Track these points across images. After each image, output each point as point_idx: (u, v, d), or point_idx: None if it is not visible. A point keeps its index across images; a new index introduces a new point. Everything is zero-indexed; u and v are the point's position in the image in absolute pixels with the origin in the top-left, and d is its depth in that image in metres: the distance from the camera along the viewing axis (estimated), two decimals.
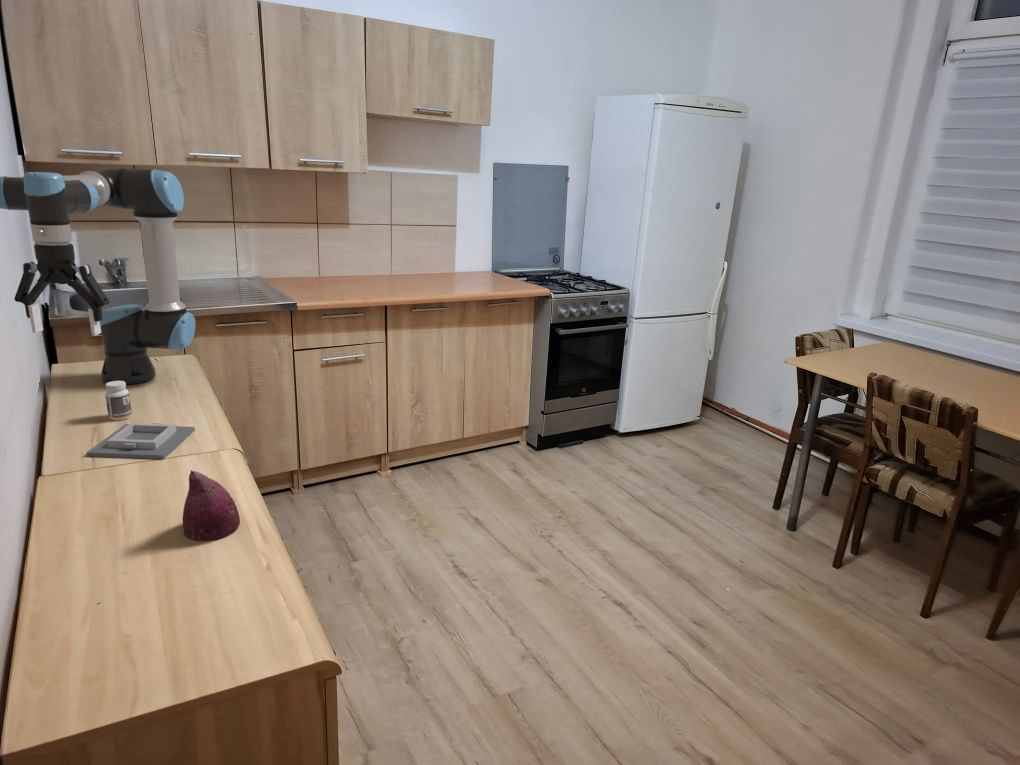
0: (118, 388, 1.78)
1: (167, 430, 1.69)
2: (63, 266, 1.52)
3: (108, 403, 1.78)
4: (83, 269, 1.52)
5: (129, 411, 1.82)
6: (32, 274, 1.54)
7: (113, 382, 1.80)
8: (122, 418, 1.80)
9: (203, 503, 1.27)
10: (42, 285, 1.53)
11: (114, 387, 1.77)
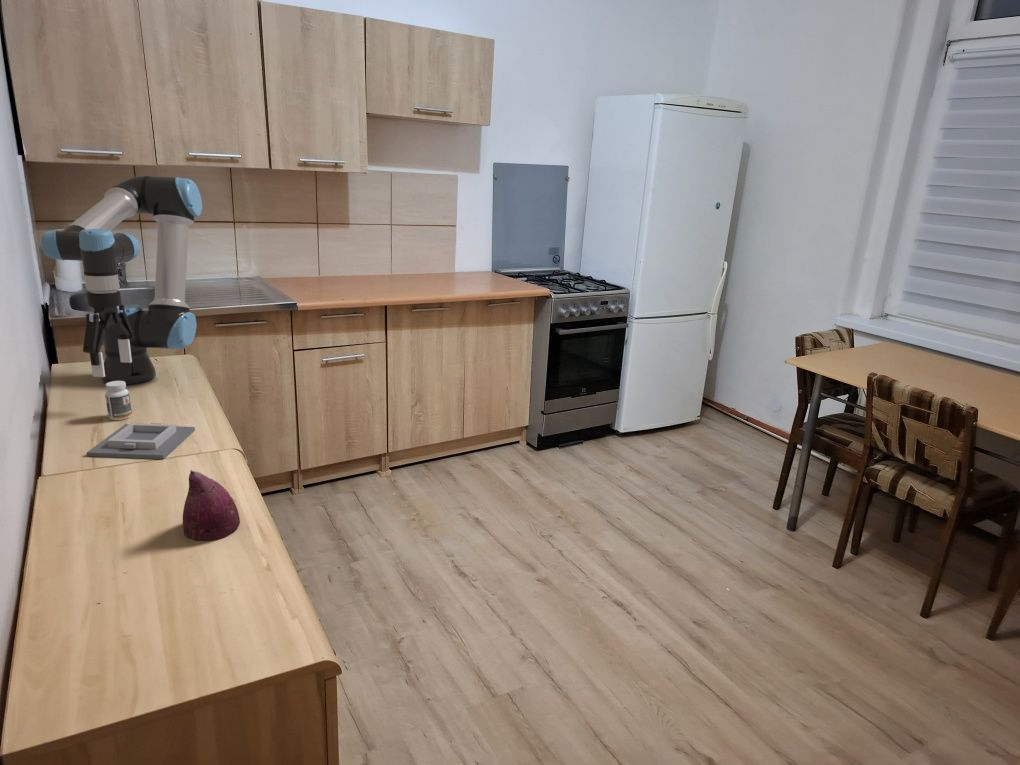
0: (118, 388, 1.78)
1: (167, 430, 1.69)
2: None
3: (108, 403, 1.78)
4: None
5: (129, 411, 1.82)
6: (119, 314, 1.79)
7: (113, 382, 1.80)
8: (122, 418, 1.80)
9: (202, 503, 1.27)
10: (111, 324, 1.77)
11: (114, 387, 1.77)
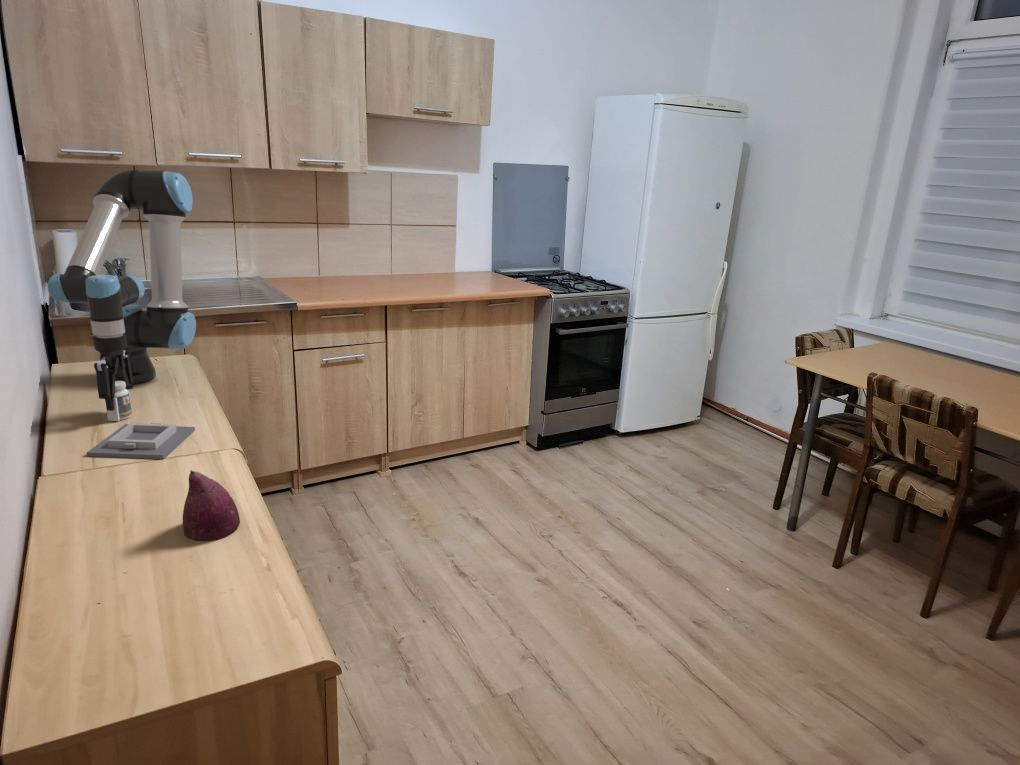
0: (118, 388, 1.78)
1: (167, 430, 1.69)
2: None
3: None
4: None
5: (129, 411, 1.81)
6: (123, 360, 1.82)
7: None
8: (122, 418, 1.80)
9: (202, 503, 1.27)
10: None
11: None
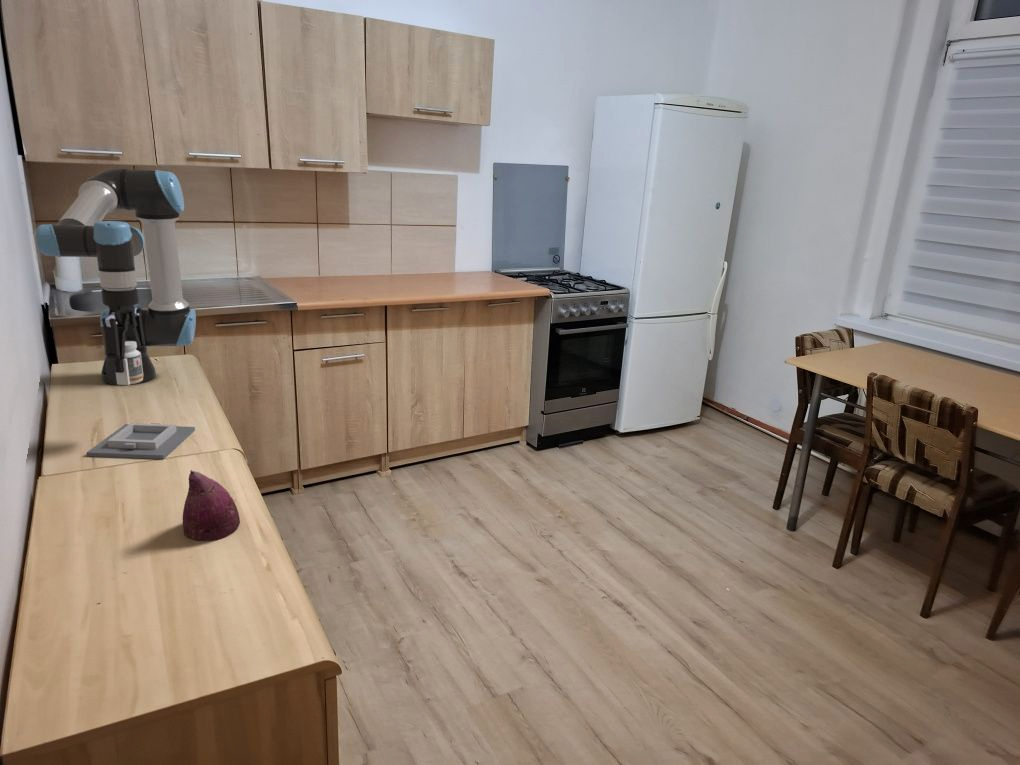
0: (128, 348, 1.61)
1: (167, 430, 1.69)
2: None
3: None
4: None
5: (140, 374, 1.64)
6: (134, 319, 1.65)
7: None
8: (132, 382, 1.63)
9: (202, 503, 1.27)
10: None
11: None
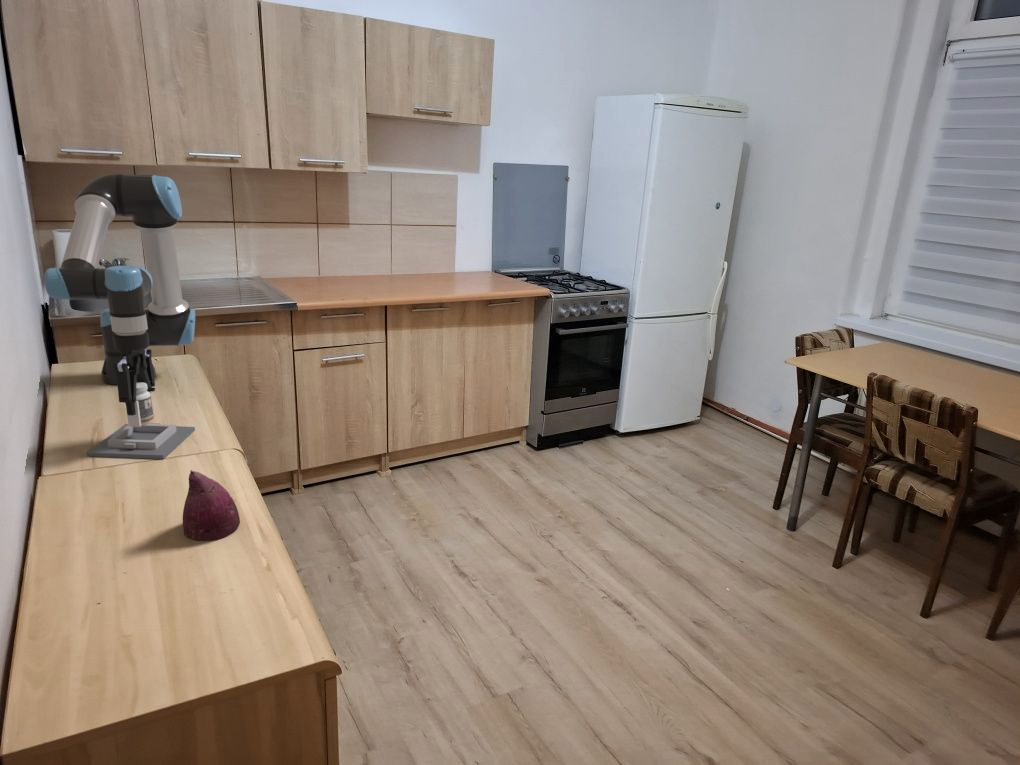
0: (139, 390, 1.62)
1: (167, 430, 1.69)
2: None
3: None
4: None
5: (151, 415, 1.65)
6: None
7: None
8: (143, 423, 1.64)
9: (202, 503, 1.27)
10: None
11: None
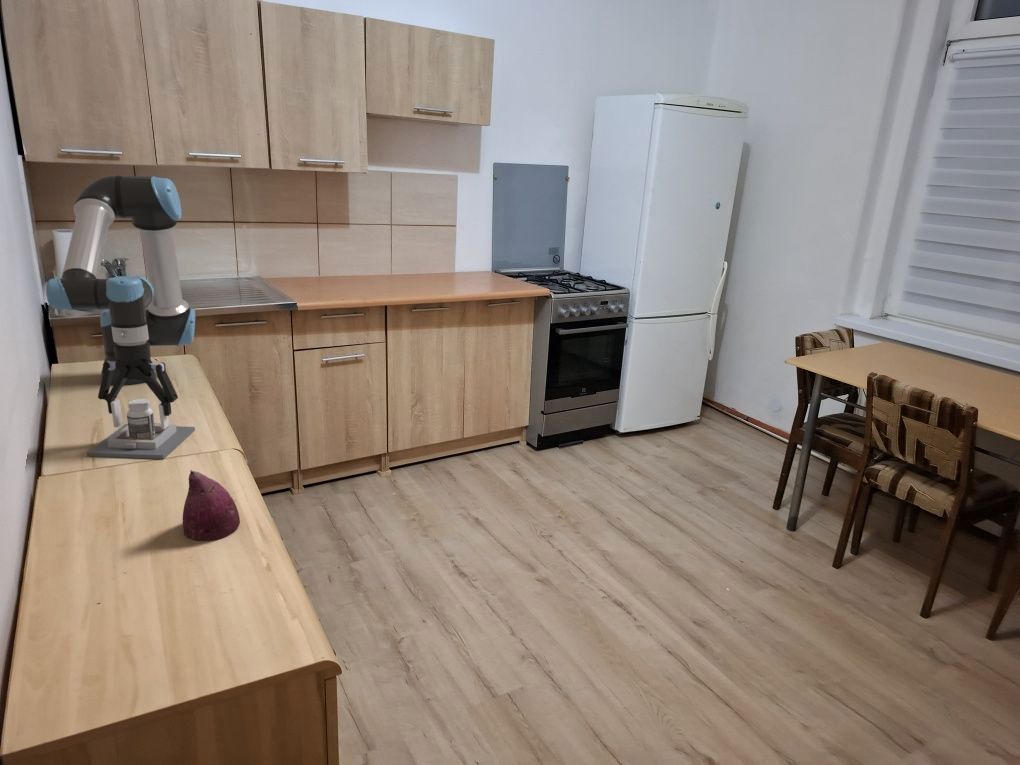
0: None
1: (167, 430, 1.69)
2: (141, 363, 1.60)
3: (148, 422, 1.65)
4: (159, 368, 1.61)
5: None
6: (111, 371, 1.62)
7: (134, 403, 1.64)
8: None
9: (202, 503, 1.27)
10: (122, 382, 1.62)
11: (149, 403, 1.65)
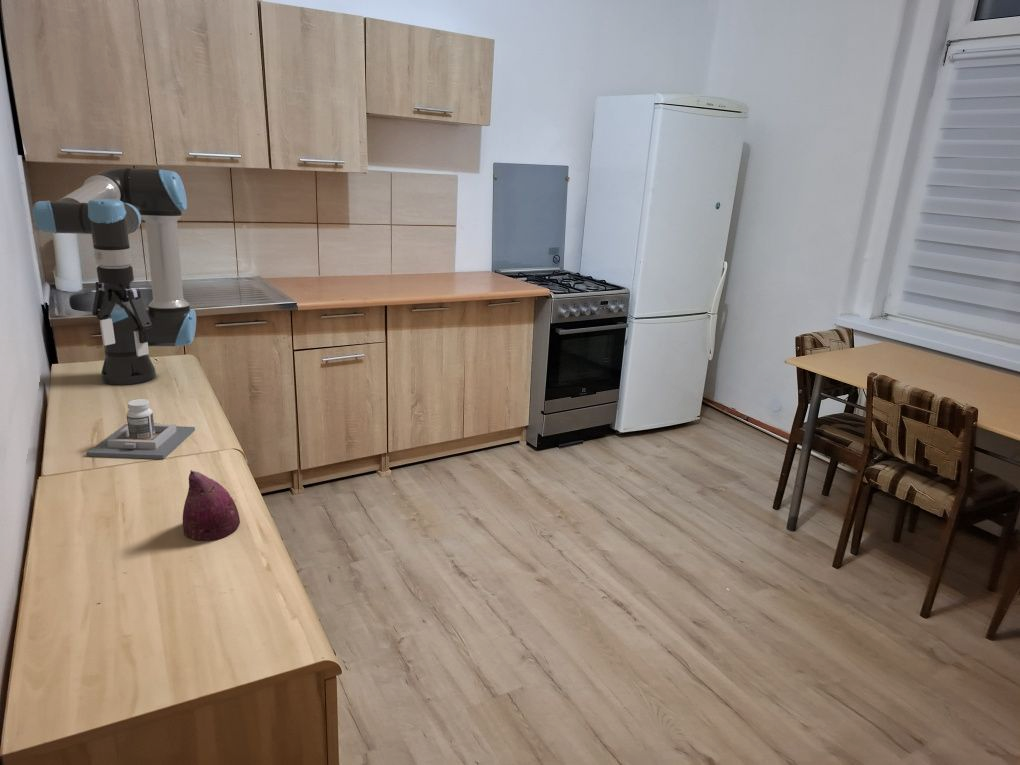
0: None
1: (167, 430, 1.69)
2: (118, 288, 1.60)
3: (148, 423, 1.65)
4: (129, 293, 1.58)
5: None
6: (104, 292, 1.65)
7: (134, 403, 1.63)
8: None
9: (202, 503, 1.27)
10: (107, 303, 1.64)
11: None
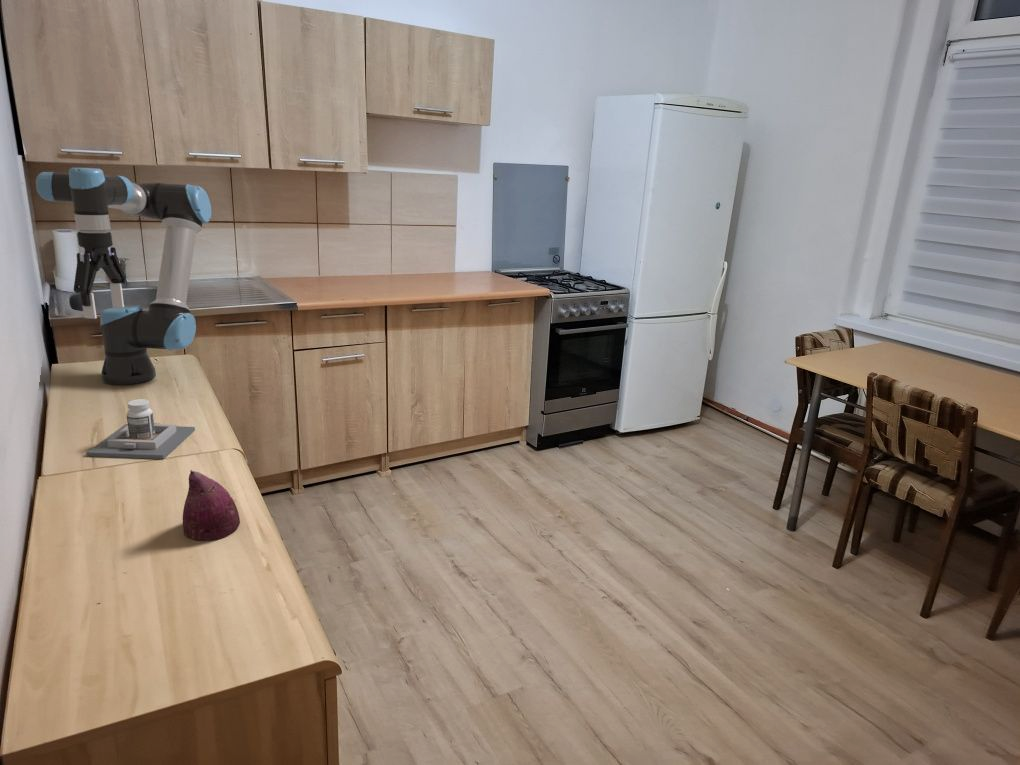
0: None
1: (167, 430, 1.69)
2: None
3: (148, 422, 1.65)
4: None
5: None
6: (111, 257, 1.77)
7: (134, 403, 1.64)
8: None
9: (202, 503, 1.27)
10: (102, 267, 1.76)
11: None
